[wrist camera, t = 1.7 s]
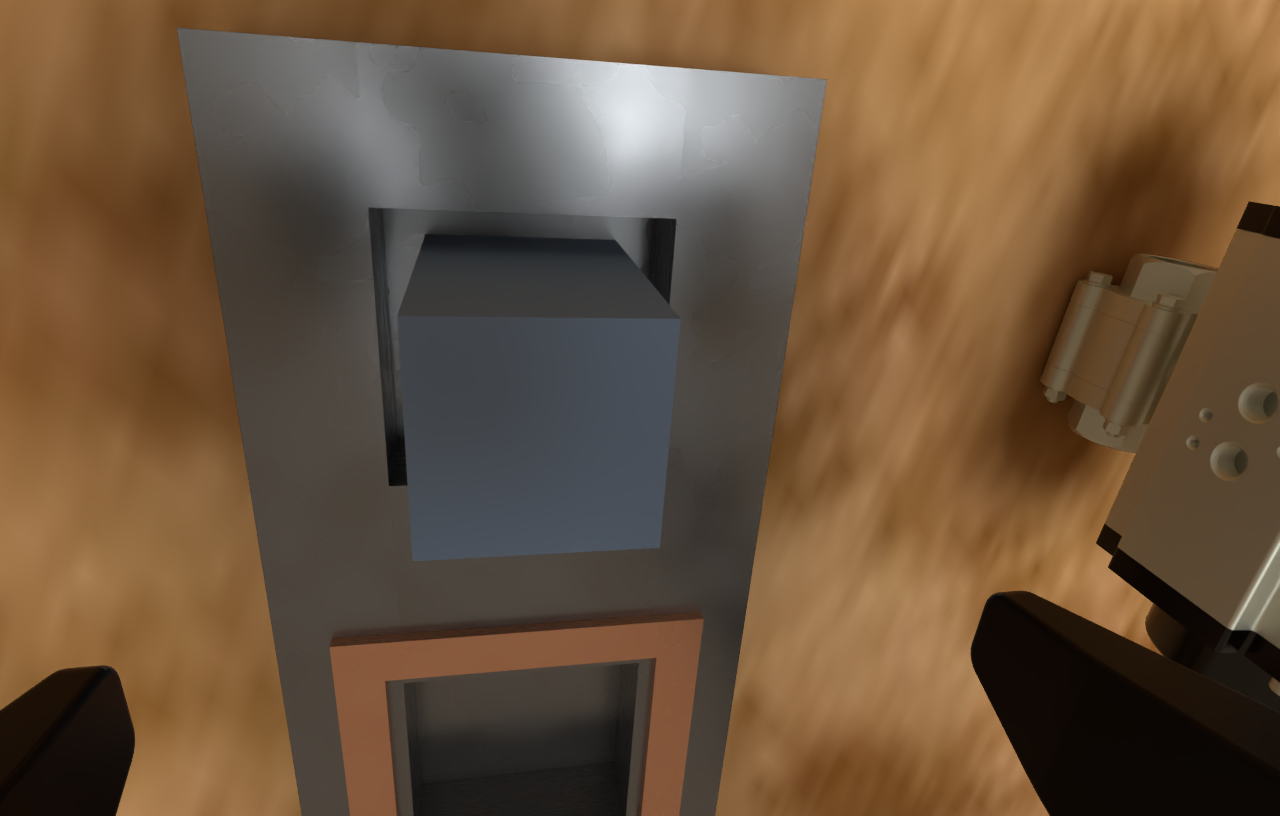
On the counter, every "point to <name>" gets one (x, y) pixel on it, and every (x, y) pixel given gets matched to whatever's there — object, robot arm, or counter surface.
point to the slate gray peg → (534, 397)
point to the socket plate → (374, 426)
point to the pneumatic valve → (1190, 444)
